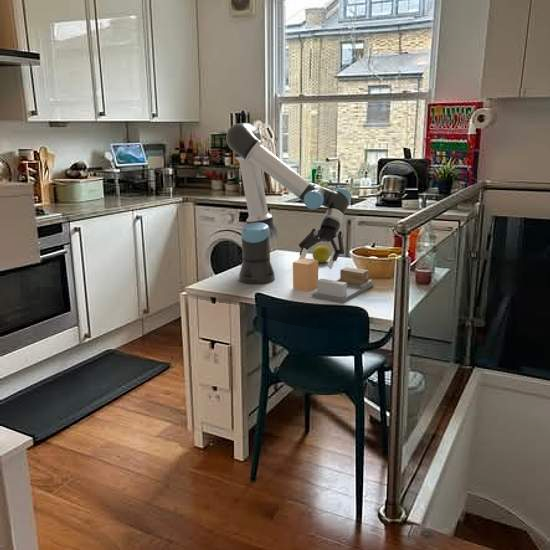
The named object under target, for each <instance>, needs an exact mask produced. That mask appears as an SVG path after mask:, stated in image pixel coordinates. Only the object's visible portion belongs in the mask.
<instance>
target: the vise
mask: <svg viewBox="0 0 550 550" xmlns="http://www.w3.org/2000/svg"><path fill="white" fill-rule="evenodd" d="M373 286H374V282H373V279H368V281H367V282H365V283H363V284H361V285H358V284H352V283H346V282H340V277H339V278H337V279H335V280H332V279H326V278H318V280H317V287H316V291H315V292H313V293H311V298H313V299H316V300H317V299H318V300H322V301H323V300H324V301H327V300H328V301H329V302H333V303H339V304H344V303H346V302H348V301H349V300H351V299H353V298H355V297H356V296H357V295H359V294H361V293H362V292H365V291H367V290H369V288H372V287H373Z"/></svg>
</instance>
